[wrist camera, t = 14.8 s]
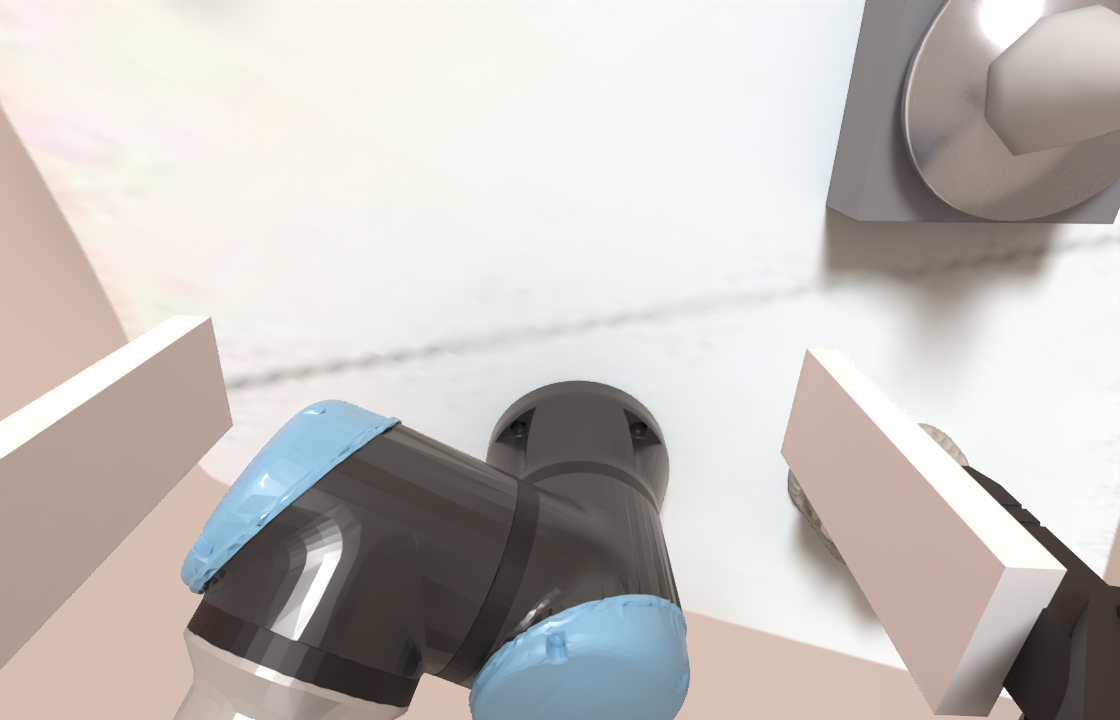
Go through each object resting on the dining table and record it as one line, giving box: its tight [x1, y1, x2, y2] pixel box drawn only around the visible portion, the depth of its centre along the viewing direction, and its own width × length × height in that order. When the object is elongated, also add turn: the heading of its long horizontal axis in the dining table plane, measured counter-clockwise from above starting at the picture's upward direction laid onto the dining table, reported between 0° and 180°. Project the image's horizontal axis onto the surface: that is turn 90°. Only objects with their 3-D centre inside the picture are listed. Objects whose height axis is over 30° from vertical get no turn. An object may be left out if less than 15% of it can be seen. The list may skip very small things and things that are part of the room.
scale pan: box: [901, 0, 1120, 221], centre depth 33 cm, size 15×15×1 cm
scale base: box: [826, 0, 1120, 224], centre depth 36 cm, size 16×16×6 cm
